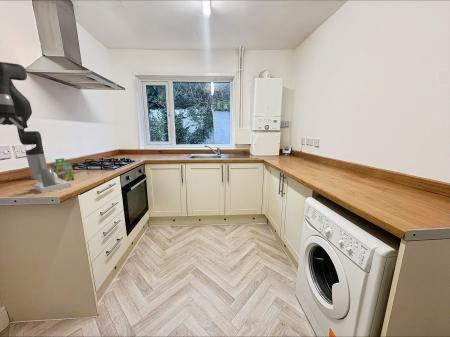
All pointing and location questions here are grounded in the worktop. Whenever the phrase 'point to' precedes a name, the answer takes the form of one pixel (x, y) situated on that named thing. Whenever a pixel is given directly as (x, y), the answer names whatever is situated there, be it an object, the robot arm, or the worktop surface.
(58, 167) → the chalk box
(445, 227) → the worktop surface
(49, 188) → the white divided tray
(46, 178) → the grey domed cylinder
